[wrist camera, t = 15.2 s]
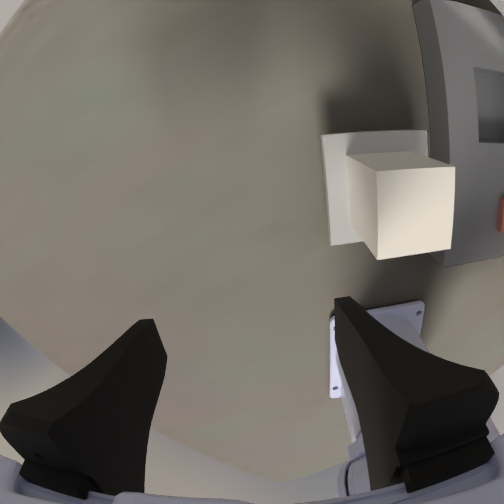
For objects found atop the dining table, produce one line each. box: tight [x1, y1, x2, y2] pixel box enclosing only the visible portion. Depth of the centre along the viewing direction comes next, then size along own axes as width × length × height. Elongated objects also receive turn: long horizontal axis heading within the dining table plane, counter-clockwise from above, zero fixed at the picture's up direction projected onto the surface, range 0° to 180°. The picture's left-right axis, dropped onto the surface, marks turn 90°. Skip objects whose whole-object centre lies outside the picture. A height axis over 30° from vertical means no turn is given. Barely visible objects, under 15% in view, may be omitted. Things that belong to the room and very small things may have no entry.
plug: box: [320, 130, 455, 260], centre depth 16 cm, size 6×6×8 cm
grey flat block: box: [412, 0, 504, 268], centre depth 16 cm, size 18×11×3 cm, turn 8°
